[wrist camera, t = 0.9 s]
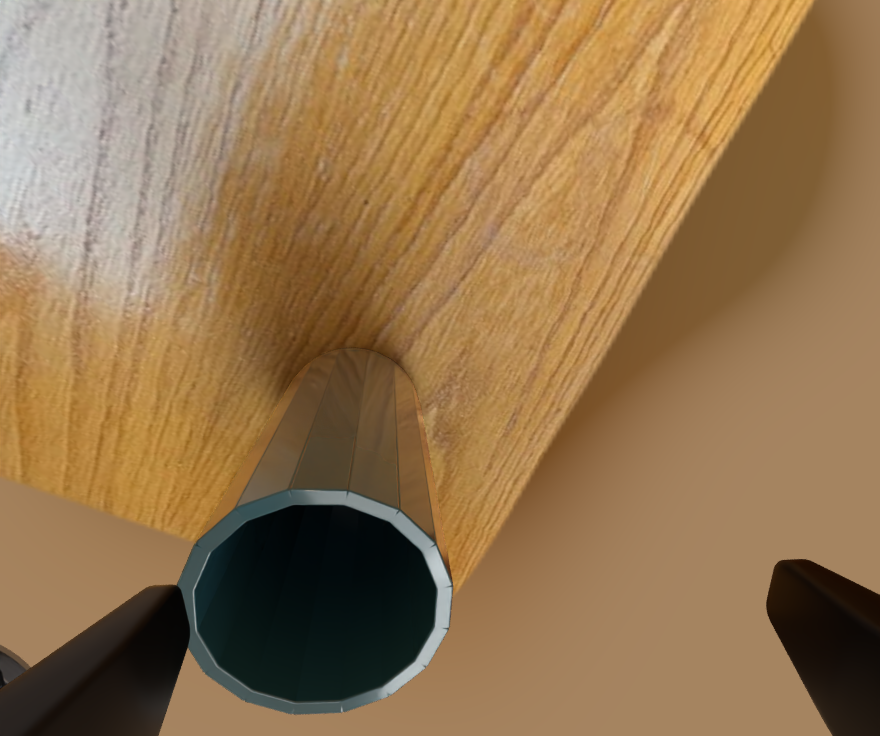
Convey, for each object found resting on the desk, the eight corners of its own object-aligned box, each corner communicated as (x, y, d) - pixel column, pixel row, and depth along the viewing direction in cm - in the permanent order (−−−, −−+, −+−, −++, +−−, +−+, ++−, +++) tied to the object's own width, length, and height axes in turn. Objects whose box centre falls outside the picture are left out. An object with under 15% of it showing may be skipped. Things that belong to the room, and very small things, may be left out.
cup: (287, 470, 21) (186, 719, 10) (285, 344, 20) (166, 487, 9) (415, 471, 22) (442, 710, 11) (423, 350, 20) (461, 490, 10)
